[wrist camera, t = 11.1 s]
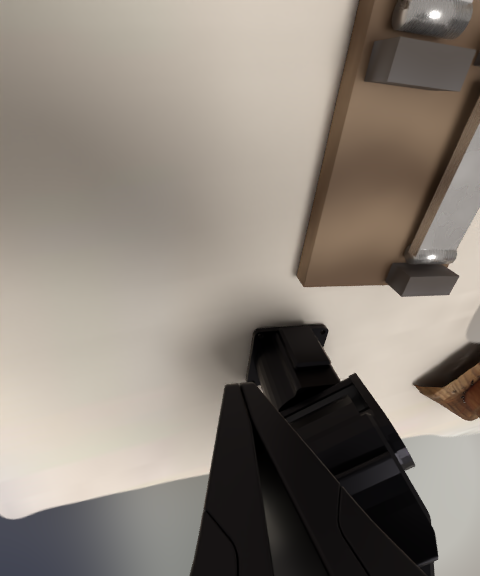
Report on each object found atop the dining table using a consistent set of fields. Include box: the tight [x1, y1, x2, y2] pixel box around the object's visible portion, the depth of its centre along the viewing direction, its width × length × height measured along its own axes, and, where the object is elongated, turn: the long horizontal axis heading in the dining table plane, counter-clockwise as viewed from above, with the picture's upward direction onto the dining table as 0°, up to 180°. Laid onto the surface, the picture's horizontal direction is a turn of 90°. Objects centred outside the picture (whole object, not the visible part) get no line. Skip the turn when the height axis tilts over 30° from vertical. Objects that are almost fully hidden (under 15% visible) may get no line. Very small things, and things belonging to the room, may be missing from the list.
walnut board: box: [297, 0, 480, 297], centre depth 16 cm, size 27×12×4 cm, turn 174°
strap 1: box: [404, 96, 480, 264], centre depth 19 cm, size 11×3×1 cm, turn 174°
